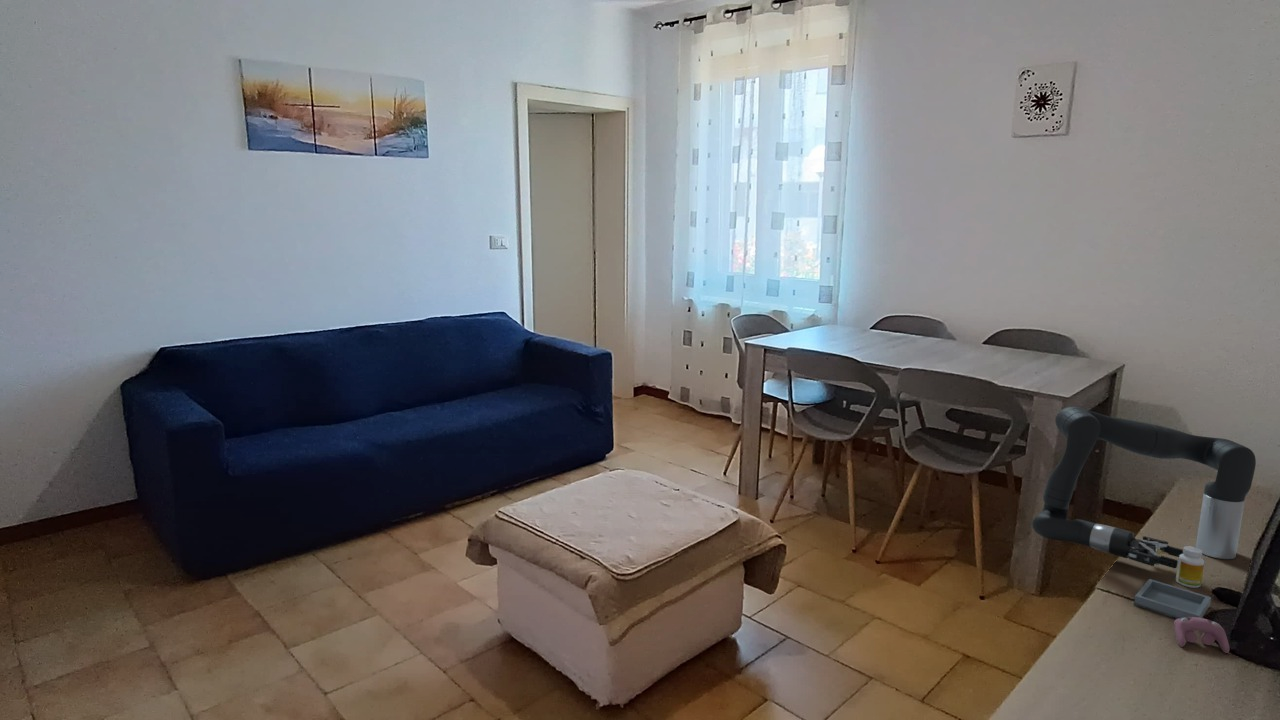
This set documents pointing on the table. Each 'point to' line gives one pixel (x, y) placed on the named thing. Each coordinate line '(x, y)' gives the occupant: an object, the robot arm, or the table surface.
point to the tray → (1171, 600)
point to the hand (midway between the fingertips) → (1181, 559)
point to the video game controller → (1210, 629)
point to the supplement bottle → (1190, 567)
